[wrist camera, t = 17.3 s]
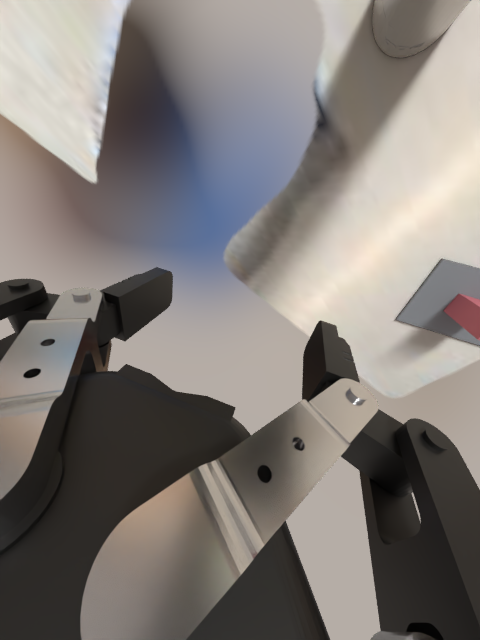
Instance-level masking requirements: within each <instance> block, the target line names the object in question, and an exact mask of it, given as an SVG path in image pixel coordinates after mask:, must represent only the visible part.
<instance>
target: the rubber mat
mask: <svg viewBox="0 0 480 640" xmlns="http://www.w3.org/2000/svg"><path fill="white" fill-rule="evenodd" d="M458 294H462V295H466V296H469V297H472V298H476V299H479V300H480V269H479V268H475V267H472V266H468V265H464V264H460V263H456V262H453V261H449V260H445V259H441V260H440V262H439V263H438V264H437V266H436V267H435V268H434V270H433V271H432V272H431V274H430V275H429V276H428V277H427V279H426V280H425V281H424V283H423V284H422V285H421V287H420V288H419V289H418V291H417V292H416V293H415V294H414V296H413V297H412V298H411V300H410V301H409V302H408V304H407V305H406V306H405V308H404V309H403V310H402V311H401V313H400V314H399V315H398V317H397V318H396V320H398V321H402V322H405V323H408V324H411V325H415V326H418V327H421V328H424V329H428V330H431V331H434V332H437V333H441V334H444V335H447V336H450V337H453V338H457V339H460V340H463V341H466V342H470V343H473V344H476V345H479V346H480V340H477V339H476V338H475V337H474V336H473V335H471V334H470V333H469V332H468V331H467V330H465V329H464V328H463V327H462V326H461V325H459V324H458V323H457V322H456V321H455V320H454V319H452V318H451V317H450V316H449V315H448V314H446V313H445V312H444V311H443V310H444V309H445V308H446V307H447V306H448V305H449V304H450V303H451V302H452V300H453V299H454V298H455V297H456V296H457V295H458Z"/></svg>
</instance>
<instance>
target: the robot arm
mask: <svg viewBox="0 0 480 640" xmlns="http://www.w3.org/2000/svg"><path fill="white" fill-rule="evenodd" d="M470 1H471V0H375V2H374V7H373V17H372V25H373V34H374V37H375V40H376V43H377V44H378V46H379V47H380V49H381V50H382V51H383V52H384V53H386V54H387V55H389V56H392V57H408V56H411V55H414V54H416V53H418V52H420V51H422V50H424V49H426V48H427V47H428V46H430V45H431V44H432V43H434V42H435V41H436V40H437V39H438V38H439V37H440V36H441V35H442V34H443V33H444V32H445V31H446V30H447V29H448V28H449V26H450V25H451V24H452V23H453V22H454V20H455V19H456V18H457V17H458V15H459V14H460V13H461V12H462V11H463V9H464V8H465V7H466V6H467V5H468V3H469V2H470ZM172 280H173V276H172V273H171V272H170V271H167V270H164V269H161V268H158V267H157V268H154V269H152V270H150V271H148V272H145V273H143V274H138V275H134V276H132V277H130V278H128V279H126V280H123V281H122V282H118V283H117V284H114V285H112V286H109V287H107V288H105V289H103V290H101V291H99V290H96V289H93V288H75V289H71V290H68V291H65V292H63V293H62V294H61V295H56V294H48V293H46V290H45V287H44V285H43V283H42V282H41V281H38V280H34V279H15V280H9V281H5V282H1V283H0V320H2V319H4V318H7V317H8V319H9V321H10V323H11V325H12V327H13V329H14V331H15V333H14V334H12V335H10V336H8V337H6V338H4V339H2V340H0V640H330V638H329V635H328V633H327V630H326V627H325V625H324V622H323V620H322V617H321V614H320V611H319V609H318V606H317V603H316V601H315V598H314V595H313V593H312V590H311V587H310V585H309V582H308V579H307V577H306V574H305V571H304V569H303V566H302V564H301V561H300V558H299V555H298V553H297V550H296V547H295V545H294V542H293V539H292V537H291V534H290V531H289V529H288V526H287V523H286V519H287V518H288V517H289V516H290V515H291V514H292V512H293V511H294V510H295V509H296V508H297V507H298V505H299V504H300V503H301V502H302V501H303V500H304V498H305V497H306V496H307V495H308V494H309V492H310V491H311V490H312V489H313V488H314V487H315V486H316V484H317V483H318V482H319V481H320V480H321V479H322V477H323V476H324V475H325V474H326V473H327V472H328V470H329V469H330V468H331V467H332V466H333V465H334V463H335V462H336V461H337V460H338V459H339V457H340V456H341V457H343V458H344V459H345V460H347V461H348V462H349V463H351V464H352V465H353V466H354V467H356V468H357V469H359V471H360V479H361V486H362V494H363V501H364V509H365V516H366V524H367V531H368V539H369V546H370V554H371V561H372V568H373V576H374V583H375V591H376V599H377V606H378V613H379V621H380V628H381V631H380V632H378V633H376V634H374V636H373V637H372V638H371V640H480V490H479V488H478V486H477V484H476V482H475V480H474V479H473V477H472V475H471V473H470V471H469V469H468V468H467V466H466V464H465V462H464V460H463V458H462V456H461V455H460V453H459V451H458V449H457V448H456V447H455V445H454V444H453V443H452V442H451V441H450V439H449V438H448V437H447V436H446V435H445V434H443V433H442V432H441V431H440V430H438V429H437V428H436V427H434V426H432V425H431V424H429V423H427V422H425V421H423V420H420V419H410V420H408V421H407V422H406V423H405V424H402V423H400V422H398V421H397V420H395V419H394V418H392V417H390V416H389V415H387V414H385V413H384V412H382V411H381V410H379V409H378V402H377V400H376V398H375V397H374V395H373V394H372V393H371V392H370V391H369V390H368V389H367V388H366V387H365V386H363V385H362V384H360V382H359V378H358V374H357V371H356V367H355V363H354V362H353V361H354V360H353V356H352V353H351V349H350V346H349V345H348V344H347V342H346V341H345V340H344V339H343V338H340V337H338V332H337V327H336V325H333V324H330V323H327V322H324V321H319V322H318V324H317V325H316V327H315V329H314V331H313V333H312V335H311V337H310V339H309V341H308V343H307V345H306V348H305V351H304V356H303V388H302V401H300V402H299V403H297V404H296V405H294V406H293V407H291V408H290V409H289V410H287V411H286V412H284V413H283V414H281V415H280V416H278V417H277V418H276V419H274V420H273V421H271V422H270V423H268V424H267V425H265V426H264V427H263V428H261V429H260V430H258V431H257V432H256V433H254V434H253V435H250V433H249V432H248V431H247V430H246V429H245V427H244V426H243V425H242V424H241V423H239V422H238V421H237V420H236V419H235V418H233V414H234V410H235V407H233V406H230V405H228V404H225V403H223V402H220V401H218V400H215V399H213V398H210V397H208V396H202V395H195V394H188V393H182V392H176V391H173V390H172V389H170V388H169V387H168V386H167V385H165V384H164V383H162V382H161V381H160V380H158V379H157V378H156V377H155V376H153V375H152V374H150V373H147V372H145V371H142V370H140V369H137V368H134V367H132V366H130V365H127V364H126V365H125V366H123V367H122V368H121V369H120V370H119V371H118V372H115V371H114V372H113V371H108V364H109V358H110V352H111V345H112V344H111V339H112V338H114V337H115V338H118V339H120V340H123V341H126V340H127V339H129V338H130V337H131V336H132V335H134V334H135V333H136V332H137V331H139V330H140V329H141V328H143V327H144V326H145V325H147V324H148V323H149V322H150V321H152V320H153V319H154V318H156V317H157V316H158V315H159V314H161V313H162V312H163V311H165V310H166V309H167V308H168V307H169V306H170V303H171V301H172V284H173V281H172ZM412 492H413V493H414V496H415V499H416V502H417V506H418V509H419V513H420V517H421V524H420V521H419V517H418V514H417V511H416V508H415V504H414V501H413V497H412V494H411V493H412Z"/></svg>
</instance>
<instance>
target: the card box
mask: <svg viewBox="0 0 480 640" xmlns="http://www.w3.org/2000/svg"><path fill="white" fill-rule="evenodd" d="M443 311H444V312H445V313H446V314H448V315H449V316H450V317H451V318H452V319H454V320H455V321H456V322H457V323H458V324H459V325H461V326H462V327H463V328H464V329H465V330H467V331H468V332H469V333H470V334H471V335H473V336H474V337H475V338H476V339H477V340H480V300H479V299H476V298H472V297H469V296H466V295H462V294H458V295H457V296H456V297H455V298H454V299H453V300H452V302H451V303H450V304H449V305H448V306H447V307H446V308H445V309H444V310H443Z"/></svg>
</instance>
